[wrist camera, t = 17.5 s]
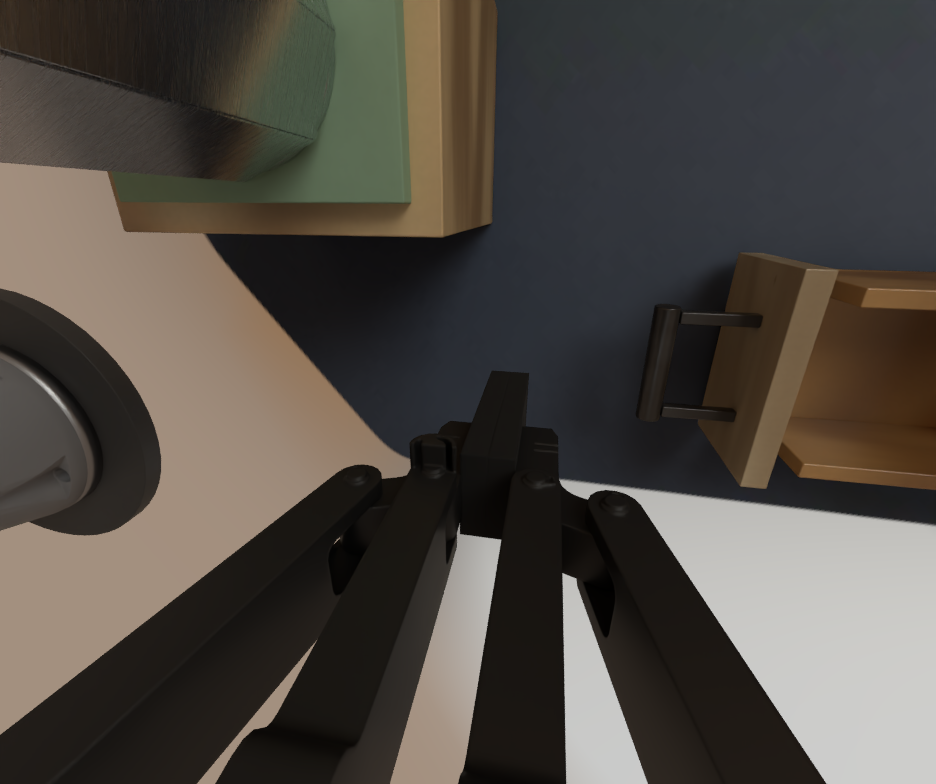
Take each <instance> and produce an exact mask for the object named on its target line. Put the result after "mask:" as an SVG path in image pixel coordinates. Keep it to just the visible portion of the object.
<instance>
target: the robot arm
mask: <svg viewBox="0 0 936 784" xmlns="http://www.w3.org/2000/svg"><path fill="white" fill-rule="evenodd" d="M528 380H529V373H518V372H504V371H492V372H491V374H490V377H489V379H488V382H487V385H486V387H485V390H484V392H483V395H482V398H481V400H480V403H479V406H478V408H477V411H476V413H475V416H474V419H473V421H472V423H468V422H457V421H450V422H448V423H447V424H445V425H444V426H442V427H441V429H440V431H439V433H438V434H425V435H421V436H418V437H416V438H414V439H413V440H412V441H411V442H410V461H411V469H410V471H409V473H408V474H407V475H406V476H403V477H397V478H387V479H382V476H381V472H380V471H379V470H378V469H377V468H375V467H373V466H369V465H354V466H350V467H347V468H344V469H343V470H341V471H339V472H338V473H336V474H335V475H334V476H332V477H331V478H330V479H329V480H327V481H326V482H325V483H323V484H322V485H321V486H320V487H318V488H317V489H316V490H314V491H313V492H312V493H311V494H309V495H308V496H307V497H306V498H304V499H303V500H302V501H300V502H299V503H298V504H296V505H295V506H294V507H293V508H291V509H290V510H289V511H287V512H286V513H285V514H284V515H282V516H281V517H280V518H279V519H277V520H276V521H275V522H274V523H272V524H271V525H269V526H268V527H267V528H266V529H264V530H263V531H262V532H260V533H259V534H258V535H257V536H256V537H254V538H253V539H251V540H250V541H249V542H248V543H246V544H245V545H244V546H242V547H241V548H240V549H239V550H237V551H236V552H235V553H234V554H232V555H231V556H230V557H228V558H227V559H226V560H224V561H223V562H222V563H221V564H219V565H218V566H217V567H215V568H214V569H213V570H212V571H210V572H209V573H208V574H207V575H205V576H204V577H203V578H201V579H200V580H199V581H198V582H196V583H195V584H194V585H192V586H191V587H190V588H188V589H187V590H186V591H185V592H183V593H182V594H181V595H179V596H178V597H177V598H176V599H174V600H173V601H172V602H170V603H169V604H168V605H167V606H165V607H164V608H163V609H162V610H160V611H159V612H158V613H156V614H155V615H154V616H152V617H151V618H150V619H149V620H148V621H146V622H145V623H143V624H142V625H141V626H140V627H138V628H137V629H136V630H134V631H133V632H132V633H131V634H130V635H128V636H127V637H125V638H124V639H123V640H122V641H120V642H119V643H118V644H116V645H115V646H114V647H113V648H112V649H110V650H109V651H108V652H106V653H105V654H104V655H102V656H101V657H100V658H99V659H97V660H96V661H95V662H94V663H92V664H91V665H89V666H88V667H87V668H86V669H84V670H83V671H82V672H80V673H79V674H78V675H77V676H75V677H74V678H73V679H71V680H70V681H69V682H68V683H66V684H65V685H64V686H63V687H61V688H60V689H59V690H57V691H56V692H55V693H53V694H52V695H51V696H50V697H48V698H47V699H46V700H44V701H43V702H42V703H41V704H39V705H38V706H37V707H36V708H34V709H33V710H32V711H30V712H29V713H28V714H27V715H25V716H24V717H23V718H22V719H20V720H19V721H18V722H16V723H15V724H14V725H12V726H11V727H10V728H9V729H7V730H6V731H5V732H3V733H2V734H1V735H0V784H197V783H198V782H199V780H200V779H201V778H202V777H203V776H204V774H205V773H206V772H207V771H208V769H209V768H210V767H211V766H212V765H213V764H214V762H215V761H216V760H217V759H218V758H219V756H220V755H221V754H222V753H223V752H224V750H225V749H226V748H227V747H228V746H229V744H230V743H231V742H232V741H233V740H234V738H235V737H236V736H237V735H238V734H239V732H240V731H241V730H242V729H243V728H244V726H245V725H246V724H247V723H248V722H249V720H250V719H251V718H252V717H253V716H254V715H255V713H256V712H257V711H258V710H259V709H260V707H261V706H262V705H263V704H264V703H265V701H266V700H267V699H268V698H269V697H270V695H271V694H272V693H273V692H274V691H275V689H276V688H277V687H278V686H279V685H280V683H281V682H282V681H283V680H284V678H285V677H286V676H287V675H288V674H289V673H290V671H291V670H292V669H293V668H294V667H295V665H296V664H297V663H298V661H300V659H301V658H302V657H303V656H304V655H305V653H306V652H307V651H308V650H309V649H310V647H311V646H312V645H313V644H314V643H315V641H316V640H317V639H318V640H317V641H316V643H315V645H314V647H313V649H312V651H311V653H310V654H309V656H308V658H307V660H306V662H305V663H304V665H303V667H302V669H301V671H300V673H299V674H298V676H297V678H296V680H295V682H294V684H293V686H292V688H291V689H290V691H289V693H288V695H287V697H286V698H285V700H284V702H283V704H282V706H281V708H280V709H279V711H278V713H277V715H276V716H275V718H274V719H273V721H272V722H271V723H270V724H269V725H268V726H267V727H265V728H260V729H255V730H253V731H252V732H251V733H249V735H247V736H246V737H245V738H244V739H243V740H242V742H241V743H240V745H239V746H238V747H237V749H236V750H235V752H234V753H233V755H232V756H231V758H230V760H229V761H228V763H227V765H226V766H225V768H224V770H223V771H222V773H221V775H220V777H219V778H218V780H217V782H216V783H215V784H390V781H391V777H392V774H393V770H394V767H395V763H396V760H397V756H398V752H399V749H400V745H401V742H402V738H403V735H404V731H405V728H406V724H407V721H408V717H409V714H410V710H411V707H412V703H413V700H414V696H415V692H416V689H417V685H418V682H419V678H420V675H421V671H422V668H423V664H424V661H425V657H426V653H427V650H428V647H429V643H430V640H431V636H432V633H433V629H434V625H435V622H436V618H437V615H438V611H439V608H440V604H441V600H442V597H443V594H444V590H445V587H446V583H447V580H448V576H449V572H450V569H451V565H452V562H453V558H454V554H455V551H456V548H457V530H458V527H459V523H460V534H464V535H472V536H479V537H486V538H494V539H501V546H500V552H499V559H498V564H497V571H496V578H495V583H494V589H493V595H492V601H491V607H490V614H489V620H488V626H487V632H486V638H485V644H484V650H483V656H482V663H481V669H480V675H479V681H478V687H477V694H476V700H475V706H474V712H473V718H472V724H471V731H470V736H469V743H468V749H467V755H466V760H465V765H464V769H463V772H462V773H461V775H460V778H459V783H458V784H566V753H565V696H564V643H563V585H562V573H564V574H567V575H569V576H571V577H574V578H576V579H577V586H578V589H579V591H580V595H581V597H582V600H583V603H584V606H585V609H586V612H587V614H588V617H589V620H590V622H591V625H592V628H593V631H594V634H595V637H596V639H597V642H598V645H599V648H600V650H601V654H602V656H603V659H604V662H605V664H606V668H607V670H608V673H609V676H610V678H611V681H612V684H613V687H614V690H615V693H616V696H617V698H618V701H619V704H620V707H621V709H622V712H623V715H624V718H625V721H626V724H627V726H628V729H629V732H630V735H631V737H632V740H633V743H634V746H635V749H636V751H637V754H638V757H639V760H640V763H641V766H642V768H643V771H644V774H645V776H646V779H647V782H648V784H826V783H825V781H824V779H823V778H822V777H821V775H820V774H819V772H818V770H817V769H816V768H815V766H814V764H813V763H812V761H811V760H810V758H809V757H808V756H807V754H806V752H805V751H804V749H803V748H802V746H801V745H800V743H799V742H798V740H797V739H796V737H795V736H794V734H793V733H792V731H791V730H790V729H789V727H788V726H787V724H786V722H785V721H784V719H783V718H782V716H781V715H780V714H779V712H778V711H777V709H776V707H775V706H774V704H773V703H772V702H771V700H770V699H769V697H768V696H767V694H766V692H765V691H764V689H763V688H762V686H761V685H760V684H759V682H758V680H757V679H756V678H755V676H754V674H753V673H752V671H751V670H750V668H749V667H748V665H747V664H746V662H745V661H744V659H743V658H742V657H741V655H740V653H739V652H738V650H737V649H736V647H735V646H734V644H733V643H732V641H731V640H730V638H729V637H728V636H727V634H726V632H725V631H724V629H723V628H722V626H721V625H720V623H719V622H718V620H717V619H716V617H715V616H714V614H713V613H712V611H711V610H710V608H709V607H708V605H707V604H706V602H705V601H704V599H703V598H702V596H701V595H700V593H699V592H698V591H697V589H696V587H695V586H694V584H693V583H692V581H691V580H690V578H689V577H688V575H687V574H686V573H685V571H684V569H683V568H682V566H681V565H680V563H679V562H678V561H677V559H676V557H675V556H674V555H673V553H672V551H671V550H670V548H669V547H668V546H667V544H666V542H665V541H664V539H663V538H662V536H661V535H660V533H659V532H658V530H657V529H656V527H655V526H654V524H653V523H652V521H651V520H650V518H649V517H648V515H647V514H646V512H645V511H644V509H643V508H642V506H641V505H640V504H639V503H638V502H637V501H636V500H635V499H633V498H632V497H630V496H628V495H626V494H624V493H620V492H617V491H609V490H604V491H598V492H595V493H594V494H592V495H590V497H589V499H588V500H587V499H583V498H581V497H578V496H576V495H573V494H571V493H570V492H568V491H567V490H565V489H564V488H563V487H562V486H561V484H560V481H559V473H558V436H557V435H556V434H555V432H554V431H553V430H552V429H547V428H536V427H525V426H526V410H527V395H528ZM102 471H103V456H102V450H101V446H100V442H99V439H98V436H97V434H96V431H95V429H94V427H93V425H92V423H91V421H90V419H89V417H88V416H87V414H86V412H85V411H84V409H83V408H82V406H81V405H80V404H79V402H78V401H77V400H76V398H75V397H74V396H73V395H72V393H71V392H70V391H69V390H68V389H67V388H66V387H65V386H64V385H63V384H62V383H61V382H60V381H59V380H58V379H57V378H56V377H55V376H54V375H52V374H51V373H50V372H49V371H48V370H46V369H45V368H44V367H42V366H41V365H40V364H38V363H37V362H35V361H34V360H32V359H31V358H29V357H27V356H26V355H24V354H22V353H20V352H18V351H16V350H14V349H11V348H9V347H6V346H4V345H0V530H3V529H7V528H10V527H13V526H16V525H19V524H23V523H26V522H29V521H32V520H35V519H39V518H42V517H45V516H48V515H51V514H54V513H57V512H59V511H61V510H63V509H65V508H68V507H70V506H72V505H73V504H75V503H77V502H78V501H80V500H81V499H83V498H85V497H86V496H88V495H89V494H90V493H92V492H93V491H94V489H95V488H96V487H97V485H98V483H99V482H100V479H101V476H102ZM339 537H340V539H339V540H338V541H337V542H336V543H335V541H336V540H337V539H338V538H339ZM334 543H335V544H334Z"/></svg>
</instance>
